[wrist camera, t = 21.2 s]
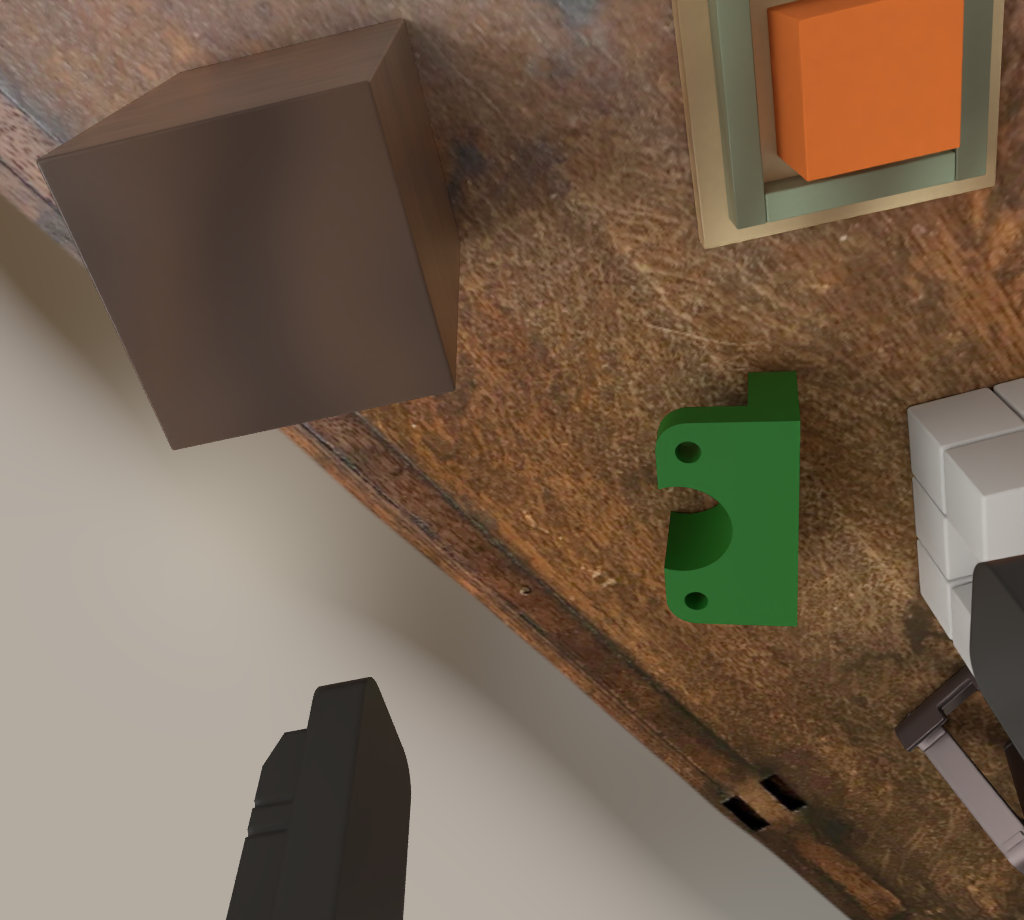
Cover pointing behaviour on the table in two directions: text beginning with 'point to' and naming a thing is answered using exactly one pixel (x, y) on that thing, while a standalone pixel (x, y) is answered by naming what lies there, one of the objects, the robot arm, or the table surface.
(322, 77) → the stand
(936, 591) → the gray cube puzzle piece
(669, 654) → the table surface
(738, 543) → the clamp
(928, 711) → the tablet stand
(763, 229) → the square tray
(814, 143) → the orange square block
